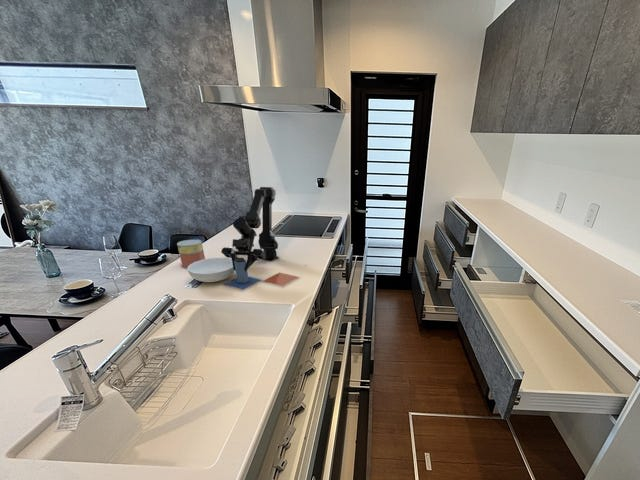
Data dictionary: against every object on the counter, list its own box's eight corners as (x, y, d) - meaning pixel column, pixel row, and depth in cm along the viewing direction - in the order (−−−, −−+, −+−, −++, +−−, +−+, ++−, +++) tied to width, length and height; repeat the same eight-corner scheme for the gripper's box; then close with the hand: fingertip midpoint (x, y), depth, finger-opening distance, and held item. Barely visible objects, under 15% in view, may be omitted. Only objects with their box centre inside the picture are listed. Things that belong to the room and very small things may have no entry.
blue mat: (223, 285, 138) (223, 284, 138) (243, 276, 149) (243, 275, 148) (243, 290, 134) (242, 289, 134) (262, 280, 144) (262, 279, 144)
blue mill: (236, 280, 141) (232, 258, 137) (247, 278, 144) (243, 256, 140) (239, 284, 138) (235, 261, 133) (250, 281, 140) (247, 259, 136)
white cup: (251, 262, 166) (249, 244, 162) (241, 267, 159) (239, 249, 155) (240, 260, 168) (237, 243, 164) (229, 265, 162) (226, 247, 158)
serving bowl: (182, 288, 134) (179, 274, 132) (199, 270, 153) (196, 257, 151) (232, 286, 138) (229, 272, 135) (242, 269, 157) (240, 256, 154)
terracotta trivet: (262, 282, 143) (262, 281, 143) (279, 273, 153) (279, 272, 153) (282, 287, 138) (282, 286, 138) (298, 277, 148) (298, 277, 148)
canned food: (184, 261, 165) (179, 240, 160) (207, 259, 168) (203, 238, 163) (179, 268, 155) (174, 246, 150) (204, 266, 158) (199, 244, 154)
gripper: (219, 230, 136) (210, 261, 130) (260, 232, 135) (252, 264, 129) (231, 242, 146) (223, 271, 141) (268, 243, 145) (262, 273, 140)
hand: (239, 270), depth 137 cm, fingers closed on blue mill, 5 cm apart
